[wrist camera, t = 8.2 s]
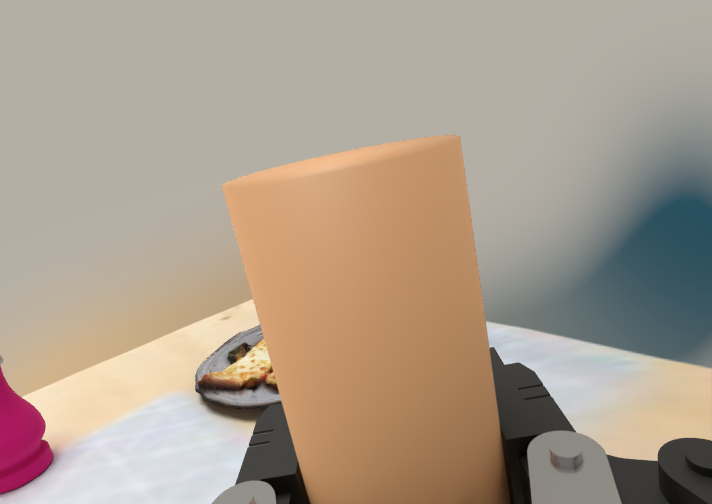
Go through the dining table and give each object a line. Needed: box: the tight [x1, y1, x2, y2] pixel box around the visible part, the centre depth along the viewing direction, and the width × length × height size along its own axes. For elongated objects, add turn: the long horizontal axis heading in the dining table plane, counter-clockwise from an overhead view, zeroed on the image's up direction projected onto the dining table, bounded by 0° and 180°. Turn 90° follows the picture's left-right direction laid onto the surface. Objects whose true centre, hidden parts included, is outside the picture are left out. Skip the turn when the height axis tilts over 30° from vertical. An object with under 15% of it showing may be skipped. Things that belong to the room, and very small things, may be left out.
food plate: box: [195, 325, 281, 409], centre depth 62 cm, size 25×23×4 cm
